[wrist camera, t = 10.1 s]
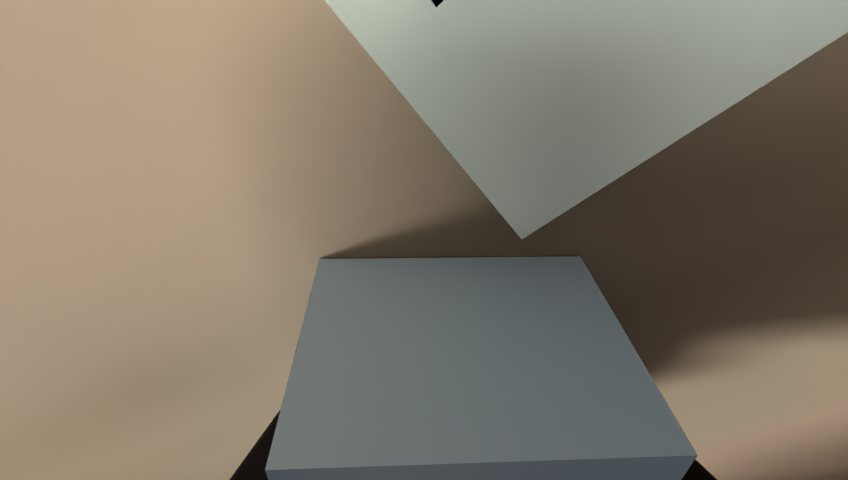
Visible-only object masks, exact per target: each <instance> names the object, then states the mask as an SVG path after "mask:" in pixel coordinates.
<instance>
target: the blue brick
mask: <svg viewBox="0 0 848 480" xmlns="http://www.w3.org/2000/svg"><path fill="white" fill-rule="evenodd" d="M696 457H697V454H696V452H695V450H694V449H693V447H692V445H691V444H690V442H689V440H688V438H687V437H686V435H685V433H684V432H683V430H682V428H681V427H680V425H679V423H678V421H677V420H676V418H675V416H674V415H673V413H672V411H671V410H670V408H669V406H668V404H667V403H666V401H665V399H664V398H663V396H662V394H661V393H660V391H659V389H658V387H657V386H656V384H655V382H654V381H653V379H652V377H651V376H650V374H649V372H648V370H647V369H646V367H645V365H644V364H643V362H642V360H641V359H640V357H639V355H638V353H637V352H636V350H635V348H634V347H633V345H632V343H631V342H630V340H629V338H628V336H627V335H626V333H625V331H624V330H623V328H622V326H621V325H620V323H619V321H618V319H617V318H616V316H615V314H614V313H613V311H612V309H611V308H610V306H609V304H608V302H607V301H606V299H605V297H604V296H603V294H602V292H601V291H600V289H599V287H598V286H597V284H596V282H595V280H594V279H593V277H592V275H591V274H590V272H589V270H588V269H587V267H586V265H585V263H584V262H583V260H582V258H581V257H580V256H567V257H464V258H360V259H319V263H318V267H317V270H316V274H315V278H314V282H313V286H312V290H311V294H310V298H309V301H308V305H307V309H306V313H305V317H304V321H303V325H302V329H301V332H300V336H299V340H298V344H297V348H296V352H295V356H294V360H293V363H292V367H291V371H290V375H289V379H288V383H287V387H286V391H285V394H284V398H283V402H282V406H281V410H280V414H279V418H278V422H277V425H276V429H275V433H274V437H273V441H272V445H271V449H270V453H269V456H268V460H267V464H266V468H265V472H266V475H267V478H268V480H682V478H683V477H684V475H685V474H686V472H687V471H688V469H689V467H690V466H691V464H692V463H693V461H694V460H695V458H696Z"/></svg>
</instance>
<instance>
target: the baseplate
mask: <svg viewBox="0 0 848 480" xmlns="http://www.w3.org/2000/svg"><path fill="white" fill-rule="evenodd" d="M325 1H326V3H327V4H328V5H329V6H330V8H331V9H332V10H333V11H334V12H335V14H336V15H337V16H338V17H339V18H340V20H341V21H342V22H343V23H344V25H345V26H346V27H347V28H348V29H349V31H350V32H351V33H352V34H353V35H354V37H355V38H356V39H357V40H358V42H359V43H360V44H361V45H362V46H363V48H364V49H365V50H366V51H367V52H368V54H369V55H370V56H371V57H372V59H373V60H374V61H375V62H376V63H377V65H378V66H379V67H380V68H381V69H382V71H383V72H384V73H385V74H386V76H387V77H388V78H389V79H390V80H391V82H392V83H393V84H394V85H395V86H396V88H397V89H398V90H399V91H400V93H401V94H402V95H403V96H404V97H405V99H406V100H407V101H408V102H409V103H410V105H411V106H412V107H413V108H414V110H415V111H416V112H417V113H418V114H419V116H420V117H421V118H422V119H423V120H424V122H425V123H426V124H427V125H428V127H429V128H430V129H431V130H432V131H433V133H434V134H435V135H436V136H437V137H438V139H439V140H440V141H441V142H442V144H443V145H444V146H445V147H446V148H447V150H448V151H449V152H450V153H451V154H452V156H453V157H454V158H455V159H456V160H457V162H458V163H459V164H460V165H461V167H462V168H463V169H464V170H465V171H466V173H467V174H468V175H469V176H470V177H471V179H472V180H473V181H474V182H475V184H476V185H477V186H478V187H479V188H480V190H481V191H482V192H483V193H484V194H485V196H486V197H487V198H488V199H489V201H490V202H491V203H492V204H493V205H494V207H495V208H496V209H497V210H498V211H499V213H500V214H501V215H502V216H503V218H504V219H505V220H506V221H507V222H508V224H509V225H510V226H511V227H512V228H513V230H514V231H515V232H516V233H517V235H518V236H519V237H520V238H521V239H523V238H525V237H526V236H528V235H530V234H531V233H533V232H534V231H536V230H537V229H539V228H541V227H542V226H544V225H545V224H547V223H548V222H550V221H552V220H553V219H555V218H556V217H558V216H559V215H561V214H563V213H564V212H566V211H567V210H569V209H570V208H572V207H574V206H575V205H577V204H578V203H580V202H581V201H583V200H585V199H586V198H588V197H589V196H591V195H592V194H594V193H596V192H597V191H599V190H600V189H602V188H603V187H605V186H607V185H608V184H610V183H611V182H613V181H615V180H616V179H618V178H619V177H621V176H622V175H624V174H626V173H627V172H629V171H630V170H632V169H633V168H635V167H637V166H638V165H640V164H641V163H643V162H644V161H646V160H648V159H649V158H651V157H652V156H654V155H655V154H657V153H659V152H660V151H662V150H663V149H665V148H666V147H668V146H670V145H671V144H673V143H674V142H676V141H677V140H679V139H681V138H682V137H684V136H685V135H687V134H688V133H690V132H692V131H693V130H695V129H696V128H698V127H699V126H701V125H703V124H704V123H706V122H707V121H709V120H710V119H712V118H714V117H715V116H717V115H718V114H720V113H721V112H723V111H725V110H726V109H728V108H729V107H731V106H732V105H734V104H736V103H737V102H739V101H740V100H742V99H743V98H745V97H747V96H748V95H750V94H751V93H753V92H755V91H756V90H758V89H759V88H761V87H762V86H764V85H766V84H767V83H769V82H770V81H772V80H773V79H775V78H777V77H778V76H780V75H781V74H783V73H784V72H786V71H788V70H789V69H791V68H792V67H794V66H795V65H797V64H799V63H800V62H802V61H803V60H805V59H806V58H808V57H810V56H811V55H813V54H814V53H816V52H817V51H819V50H821V49H822V48H824V47H825V46H827V45H828V44H830V43H832V42H833V41H835V40H836V39H838V38H839V37H841V36H843V35H844V34H846V33H847V32H848V0H444V1H443V2H442V3H441V4H439V5H438V6H437V7H435V5H434V4H433V2H432V1H431V0H325Z"/></svg>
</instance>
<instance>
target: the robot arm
mask: <svg viewBox="0 0 848 480" xmlns="http://www.w3.org/2000/svg"><path fill="white" fill-rule="evenodd" d="M280 410H281V409H280ZM279 414H280V411H279V412H278V413H277V415H276V416H275V418H274V419H273V420H272V422H271V423H270V425H269V426H268V427H267V429H266V430H265V431H264V433H263V434H262V436H261V437H260V438H259V440H258V441H257V443H256V444H255V445H254V447H253V448H252V449H251V451H250V452H249V454H248V455H247V456H246V458H245V459H244V460H243V462H242V463H241V465H240V466H239V467H238V469H237V470H236V472H235V473H234V474H233V476H232V477H231V478H230V480H268V478H267V475H266V472H265V468H266V464H267V460H268V456H269V453H270V449H271V445H272V441H273V437H274V433H275V429H276V425H277V422H278V418H279ZM682 480H717V479H716V478H715V477H714V476H713V475H712V474H711V473H709V472H708V471H707V470H706V469H705V468H704V467H703V466H702V465H701V464H700V463H699V462H698V461H697V460H696V459H695V460H694V461H693V463H692V464H691V466H690V467H689V469H688V471H687V472H686V474H685V475H684V477H683V478H682Z"/></svg>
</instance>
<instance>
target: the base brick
mask: <svg viewBox="0 0 848 480" xmlns="http://www.w3.org/2000/svg"><path fill="white" fill-rule="evenodd" d="M431 1H432V2H433V4H434V5H435V7H437V6H438V5H439V4H441V3H442V2H443V1H444V0H431Z"/></svg>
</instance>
